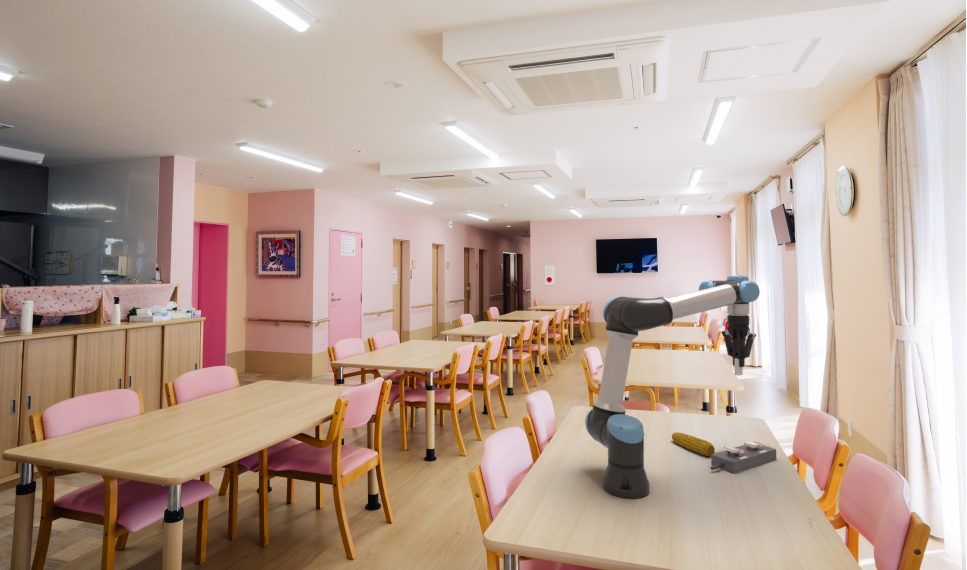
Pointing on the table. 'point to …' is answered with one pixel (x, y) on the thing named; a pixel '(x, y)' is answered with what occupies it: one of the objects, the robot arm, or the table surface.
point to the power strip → (742, 458)
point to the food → (694, 443)
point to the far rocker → (753, 444)
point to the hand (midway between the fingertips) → (738, 374)
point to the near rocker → (734, 450)
